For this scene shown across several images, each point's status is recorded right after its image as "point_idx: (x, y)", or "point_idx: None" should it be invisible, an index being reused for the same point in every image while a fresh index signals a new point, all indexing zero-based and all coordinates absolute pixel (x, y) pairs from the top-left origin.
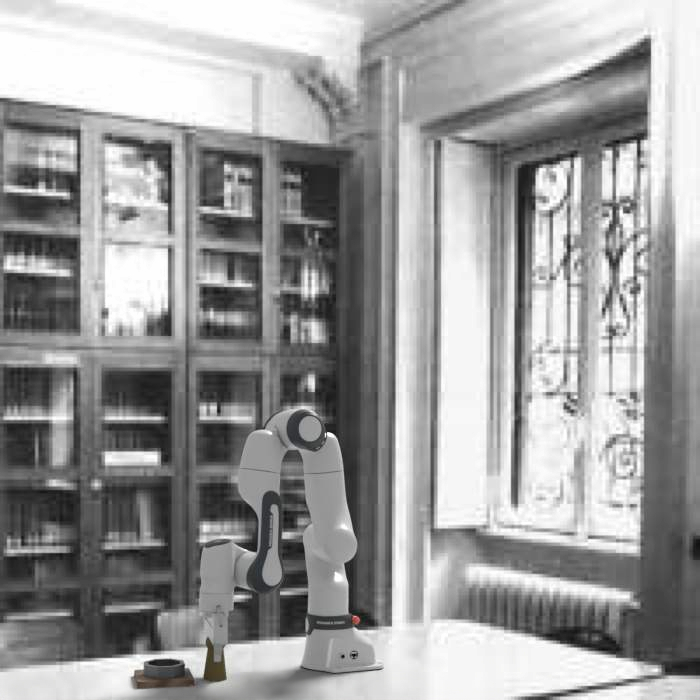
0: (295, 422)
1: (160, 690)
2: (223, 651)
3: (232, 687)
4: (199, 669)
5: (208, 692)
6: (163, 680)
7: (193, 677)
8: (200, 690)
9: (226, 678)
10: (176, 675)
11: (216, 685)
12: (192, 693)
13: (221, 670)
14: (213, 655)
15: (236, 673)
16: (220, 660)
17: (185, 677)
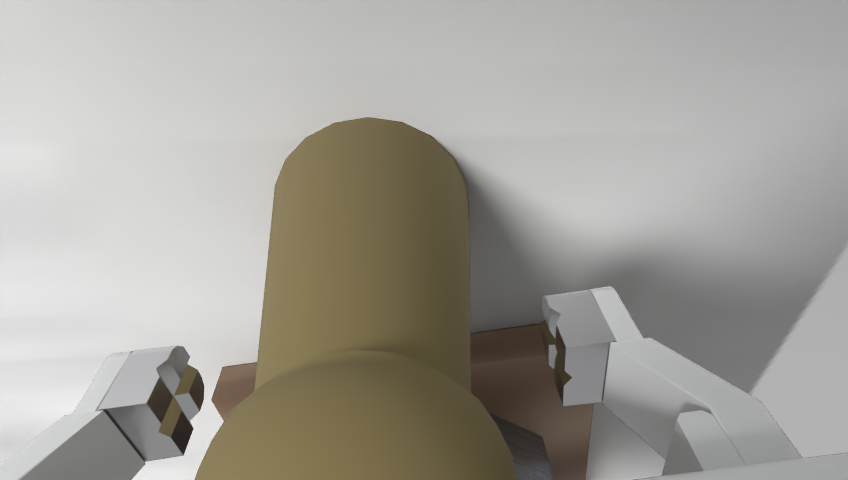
0: None
1: (640, 439)
2: (390, 318)
3: (718, 62)
4: (50, 319)
5: (799, 234)
6: (574, 468)
7: (525, 357)
8: (719, 281)
9: (376, 120)
10: (529, 443)
11: (604, 191)
12: (777, 315)
13: (449, 205)
14: (559, 389)
15: (107, 18)
16: (612, 291)
17: (517, 394)
